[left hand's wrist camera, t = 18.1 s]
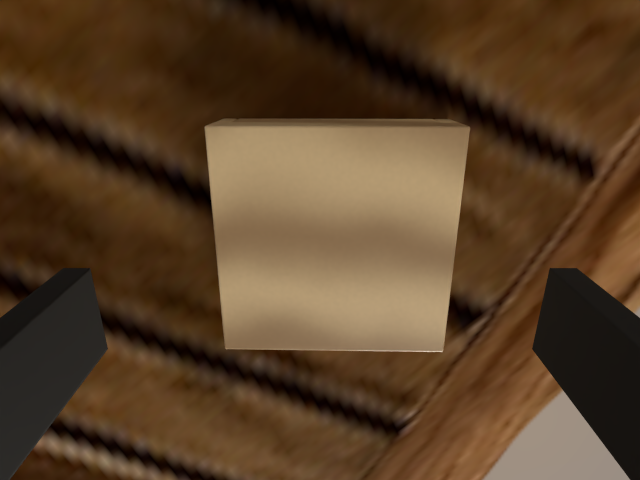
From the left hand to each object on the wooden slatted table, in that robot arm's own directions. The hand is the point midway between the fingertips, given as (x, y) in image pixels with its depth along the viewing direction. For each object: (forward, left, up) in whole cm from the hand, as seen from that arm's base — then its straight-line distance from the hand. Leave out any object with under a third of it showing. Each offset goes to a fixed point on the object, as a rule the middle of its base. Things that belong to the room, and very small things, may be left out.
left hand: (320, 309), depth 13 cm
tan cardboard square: (+1, 0, -9) cm, 9 cm away
